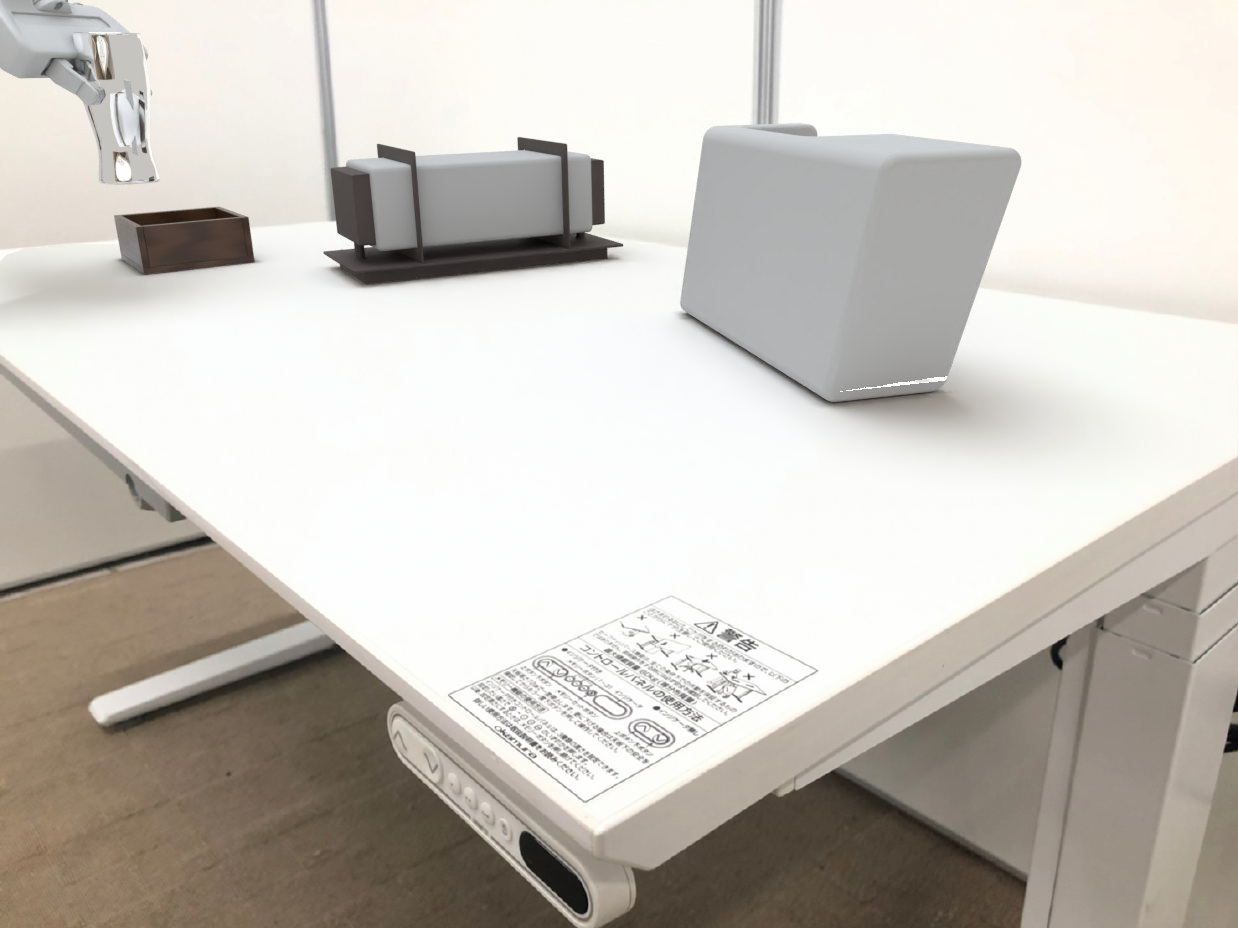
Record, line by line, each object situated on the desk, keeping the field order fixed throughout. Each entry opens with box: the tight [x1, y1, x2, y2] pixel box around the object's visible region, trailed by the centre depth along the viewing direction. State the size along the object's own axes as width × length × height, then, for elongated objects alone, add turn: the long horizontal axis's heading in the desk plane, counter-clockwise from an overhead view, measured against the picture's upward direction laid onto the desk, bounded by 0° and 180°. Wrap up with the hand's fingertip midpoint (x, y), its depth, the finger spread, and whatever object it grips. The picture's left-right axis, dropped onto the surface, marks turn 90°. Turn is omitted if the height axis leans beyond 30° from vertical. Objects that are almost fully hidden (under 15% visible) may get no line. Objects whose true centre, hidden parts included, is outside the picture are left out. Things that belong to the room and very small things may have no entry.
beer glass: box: [72, 32, 161, 186], centre depth 112 cm, size 7×7×15 cm
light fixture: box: [322, 136, 624, 285], centre depth 132 cm, size 15×15×35 cm
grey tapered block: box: [679, 122, 1022, 403], centre depth 87 cm, size 30×10×30 cm, turn 16°
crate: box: [113, 206, 256, 275], centre depth 138 cm, size 14×14×6 cm
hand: (122, 99), depth 112 cm, fingers closed on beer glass, 7 cm apart
